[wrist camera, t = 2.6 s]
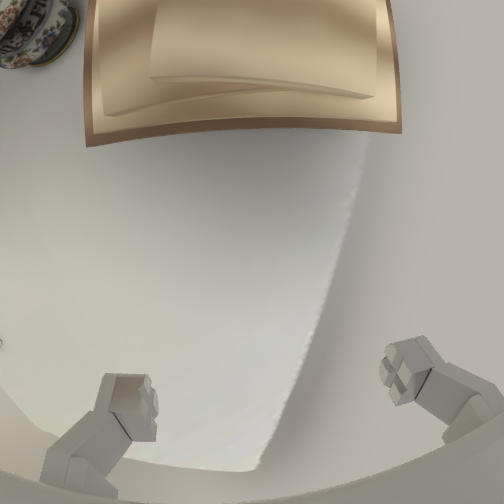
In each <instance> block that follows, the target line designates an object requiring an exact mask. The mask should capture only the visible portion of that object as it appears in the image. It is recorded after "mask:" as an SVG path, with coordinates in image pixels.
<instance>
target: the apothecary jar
mask: <svg viewBox="0 0 504 504" xmlns="http://www.w3.org/2000/svg"><path fill="white" fill-rule="evenodd" d="M78 24H79V15H78V11H77V9H76V8H70V7H69V0H0V67H2V68H5V69H17V68H21V67H24V66H26V65H30V66H35V67H38V66H43V65H46V64H49V63H51V62H52V61H54V60H55V59H57V58H58V57H59V56H60V55H61V54H62V53H63V52H64V51H65V50H66V49H67V48H68V46H69V45H70V43H71V42H72V40H73V38H74V36H75V34H76V32H77V29H78Z"/></svg>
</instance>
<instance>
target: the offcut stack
mask: <svg viewBox="0 0 504 504" xmlns="http://www.w3.org/2000/svg"><path fill="white" fill-rule="evenodd" d="M92 113H93V132H94V134H105V133H111V132H116V131H122V130H128V129H134V128H141V127H147V126H155V125H162V124H170V123H179V122H189V121H200V120H213V119H228V118H250V117H316V118H337V119H353V120H365V121H376V122H397V107H396V86H395V71H394V60H393V50H392V41H391V33H390V26H389V19H388V13H387V7H386V1H385V0H97V1H96V10H95V20H94V33H93V51H92Z"/></svg>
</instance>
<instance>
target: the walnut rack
mask: <svg viewBox="0 0 504 504" xmlns="http://www.w3.org/2000/svg"><path fill="white" fill-rule="evenodd" d="M96 1H97V0H89V2H88V11H87V20H86V32H85V47H84V122H85V139H86V147H94V146H100V145H105V144H111V143H116V142H122V141H129V140H135V139H142V138H149V137H157V136H165V135H174V134H183V133H194V132H205V131H219V130H236V129H263V128H314V129H341V130H358V131H371V132H383V133H397V134H401V133H402V118H401V92H400V76H399V63H398V53H397V45H396V36H395V29H394V22H393V16H392V10H391V4H390V0H385V1H386V7H387V13H388V19H389V26H390V33H391V41H392V50H393V60H394V71H395V86H396V107H397V122H376V121H365V120H353V119H337V118H316V117H250V118H228V119H213V120H200V121H189V122H179V123H170V124H162V125H155V126H147V127H141V128H134V129H128V130H122V131H116V132H111V133H105V134H94V132H93V113H92V51H93V33H94V20H95V10H96Z"/></svg>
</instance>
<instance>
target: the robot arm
mask: <svg viewBox="0 0 504 504" xmlns="http://www.w3.org/2000/svg"><path fill="white" fill-rule="evenodd" d="M385 354H386V357H384V359H383V360H382V361H381V364H380V367H379V368H380V369H379V370H380V377H381V380H382V382H383V384H384V385H386V386H387V387H389V388H390V389H389V395H390V397H391V399H392V400H393V402H394V404H395V406H399V405H402V404H406V403H409V402H412V401H415V402H416V403H417V404H419V405H420V406H422V407H423V408H424V409H426V410H427V411H428V412H430V413H431V414H433V415H434V416H436V417H437V418H439V419H440V420H441V421H443V422H444V423H446V424H447V425H449V427H448V428H447V430H446V431H445V432H444V433H443V435H442V439H443V441H444V443H445V446H442V447H441V448H438V449H437V450H434V451H432V452H430V453H428V454H426V455H423V456H421V457H419V458H417V459H414V460H412V461H409V462H407V463H404V464H402V465H399V466H397V467H394V468H392V469H389V470H386V471H384V472H380V473H378V474H375V475H372V476H369V477H365V478H362V479H359V480H356V481H352V482H349V483H345V484H342V485H338V486H334V487H330V488H326V489H322V490H317V491H313V492H308V493H303V494H299V495H293V496H287V497H282V498H274V499H267V500H259V501H251V502H250V501H249V502H240V503H224V504H504V397H503V395H502V394H501V392H500V391H499V390H498V388H497V387H496V386H495V385H494V384H493V383H491V382H489V381H487V380H484V379H482V378H480V377H478V376H476V375H474V374H472V373H469V372H468V371H466V370H463V369H461V368H459V367H457V366H455V365H453V364H451V363H445V362H444V360H443V359H442V358H441V356H440V355H439V354H438V352H437V351H436V350H435V348H434V347H433V346H432V345H431V343H430V342H429V341H428V340H427V338H426V337H425V336H423V335H422V336H418V337H415V338H411V339H407V340H403V341H399V342H395V343H391V344H389V345H388V346H387V347H386V349H385ZM157 416H158V398H157V394H156V391H155V389H153V388H152V387H151V379H150V377H149V375H147V374H112V373H105V375H104V376H103V378H102V381H101V385H100V388H99V392H98V396H97V399H96V403H95V407H94V411H89V412H88V413H87V414H86V415H85V416H83V417H82V418H81V419H80V420H79V421H78V422H77V423H76V424H75V425H74V426H73V427H72V428H70V429H69V430H68V431H67V432H66V433H65V434H64V435H63V436H62V437H61V438H60V439H59V440H58V441H57V442H55V443H54V444H53V445H52V446H51V447H50V448H49V449H48V450H47V453H46V456H45V461H44V464H43V468H42V472H41V477H40V481H39V482H38V481H34V480H32V479H29V478H26V477H22V476H20V475H17V474H14V473H11V472H9V471H6V470H4V469H1V468H0V504H162V503H147V502H137V501H128V500H119V499H118V489H117V488H116V487H115V486H114V485H113V484H112V483H111V482H110V481H109V480H107V479H106V477H107V475H108V474H109V473H110V471H111V470H112V469H113V468H114V466H115V465H116V463H117V462H118V461H119V460H120V458H121V457H122V456H123V454H124V453H125V452H126V450H127V449H128V448H129V446H130V445H131V444H132V441H140V442H156V432H157V425H156V423H155V421H154V419H155V418H156V417H157Z"/></svg>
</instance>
